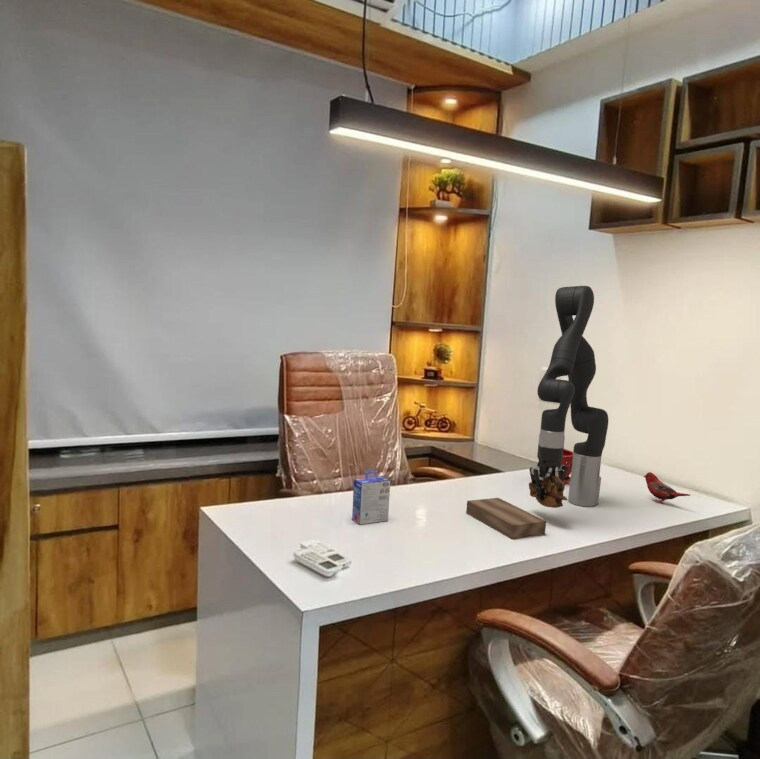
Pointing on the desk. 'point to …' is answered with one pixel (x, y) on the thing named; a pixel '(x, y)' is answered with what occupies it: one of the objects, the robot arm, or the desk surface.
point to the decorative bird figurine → (660, 489)
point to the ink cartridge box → (371, 499)
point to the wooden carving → (550, 492)
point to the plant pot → (567, 458)
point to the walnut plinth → (506, 518)
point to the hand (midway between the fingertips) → (546, 498)
